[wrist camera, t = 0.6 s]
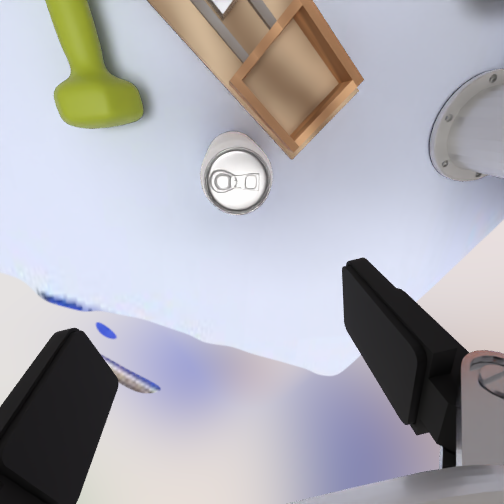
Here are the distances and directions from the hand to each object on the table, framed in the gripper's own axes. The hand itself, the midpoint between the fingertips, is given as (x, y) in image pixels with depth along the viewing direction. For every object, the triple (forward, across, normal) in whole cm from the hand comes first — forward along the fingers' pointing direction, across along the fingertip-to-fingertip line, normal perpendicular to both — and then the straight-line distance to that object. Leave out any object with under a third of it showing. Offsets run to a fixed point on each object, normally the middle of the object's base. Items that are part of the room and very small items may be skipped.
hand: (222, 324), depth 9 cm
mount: (+26, -7, -13) cm, 30 cm away
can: (+27, -2, -1) cm, 27 cm away
